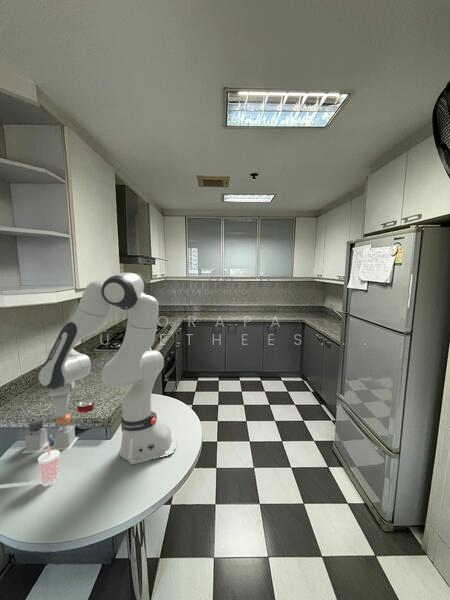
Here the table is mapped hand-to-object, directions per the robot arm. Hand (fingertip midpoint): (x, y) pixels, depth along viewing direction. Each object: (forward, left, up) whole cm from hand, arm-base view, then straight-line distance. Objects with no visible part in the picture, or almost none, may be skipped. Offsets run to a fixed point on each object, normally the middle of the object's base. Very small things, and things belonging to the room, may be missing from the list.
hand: (63, 416), depth 103 cm
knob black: (+11, 0, -11) cm, 15 cm away
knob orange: (0, 0, -9) cm, 9 cm away
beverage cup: (-5, +20, -13) cm, 24 cm away
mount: (+5, 0, -13) cm, 14 cm away
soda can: (-3, -13, -13) cm, 18 cm away
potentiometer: (+5, 0, -12) cm, 13 cm away
